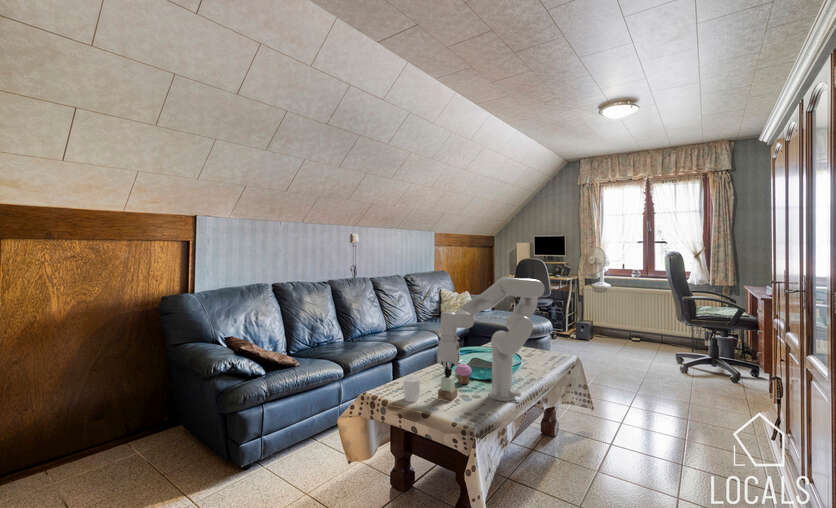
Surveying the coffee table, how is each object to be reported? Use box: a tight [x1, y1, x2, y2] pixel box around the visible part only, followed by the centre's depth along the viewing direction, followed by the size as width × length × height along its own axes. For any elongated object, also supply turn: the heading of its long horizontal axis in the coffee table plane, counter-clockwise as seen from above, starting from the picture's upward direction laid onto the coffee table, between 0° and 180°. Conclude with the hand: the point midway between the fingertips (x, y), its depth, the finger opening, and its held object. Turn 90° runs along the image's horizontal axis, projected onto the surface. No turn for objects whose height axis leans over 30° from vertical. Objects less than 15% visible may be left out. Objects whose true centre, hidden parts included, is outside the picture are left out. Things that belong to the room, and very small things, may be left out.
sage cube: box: [440, 374, 456, 392], centre depth 186 cm, size 5×5×6 cm
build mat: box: [435, 395, 460, 403], centre depth 186 cm, size 18×12×1 cm, turn 63°
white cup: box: [403, 375, 421, 403], centre depth 183 cm, size 8×8×10 cm
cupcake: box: [454, 363, 473, 385], centre depth 208 cm, size 9×9×10 cm
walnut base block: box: [437, 387, 458, 402], centre depth 186 cm, size 7×7×4 cm
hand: (447, 376), depth 186 cm, fingers closed
